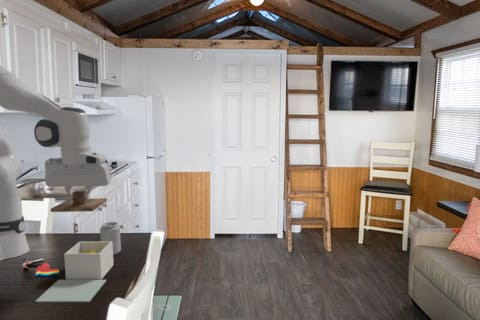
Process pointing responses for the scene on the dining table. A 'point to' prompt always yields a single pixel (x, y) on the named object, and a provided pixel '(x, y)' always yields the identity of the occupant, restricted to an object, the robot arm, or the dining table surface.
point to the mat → (72, 291)
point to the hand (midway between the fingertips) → (79, 199)
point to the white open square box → (88, 260)
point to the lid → (79, 203)
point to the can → (111, 235)
